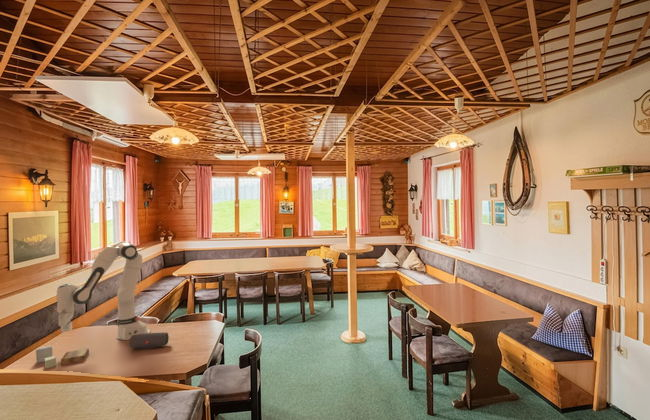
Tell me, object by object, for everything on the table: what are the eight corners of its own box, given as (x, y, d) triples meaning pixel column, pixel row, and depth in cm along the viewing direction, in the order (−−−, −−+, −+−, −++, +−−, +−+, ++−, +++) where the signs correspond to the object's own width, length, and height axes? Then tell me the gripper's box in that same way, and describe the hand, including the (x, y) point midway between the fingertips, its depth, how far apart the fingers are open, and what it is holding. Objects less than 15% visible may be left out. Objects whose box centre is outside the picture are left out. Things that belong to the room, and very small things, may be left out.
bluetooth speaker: (129, 352, 223) (128, 337, 223) (135, 346, 232) (134, 332, 232) (164, 349, 226) (164, 334, 226) (169, 343, 236) (168, 329, 235)
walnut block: (89, 354, 223) (88, 348, 223) (84, 361, 212) (84, 355, 212) (67, 357, 218) (66, 351, 218) (61, 365, 207) (61, 359, 207)
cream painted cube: (72, 328, 228) (71, 321, 228) (70, 331, 224) (69, 323, 224) (63, 330, 226) (62, 322, 226) (61, 332, 222) (60, 325, 222)
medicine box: (52, 357, 218) (52, 344, 218) (52, 360, 215) (52, 346, 214) (36, 361, 213) (36, 348, 213) (36, 364, 210) (35, 350, 209)
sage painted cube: (55, 363, 210) (54, 355, 210) (56, 365, 206) (55, 358, 206) (44, 366, 206) (44, 358, 206) (45, 368, 203) (45, 360, 203)
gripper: (66, 311, 216) (67, 332, 217) (75, 303, 235) (76, 322, 235) (54, 313, 214) (55, 334, 214) (64, 304, 232) (65, 324, 233)
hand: (66, 328), depth 225 cm, fingers closed on cream painted cube, 5 cm apart
